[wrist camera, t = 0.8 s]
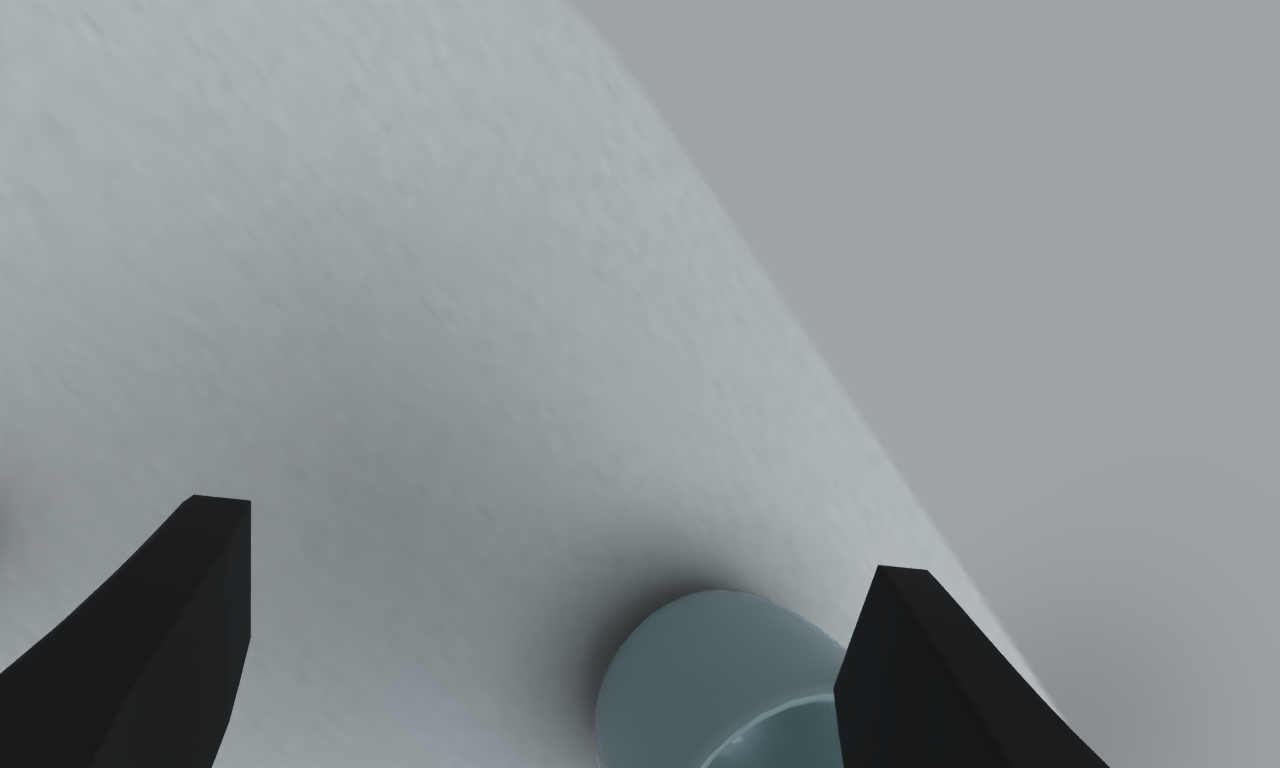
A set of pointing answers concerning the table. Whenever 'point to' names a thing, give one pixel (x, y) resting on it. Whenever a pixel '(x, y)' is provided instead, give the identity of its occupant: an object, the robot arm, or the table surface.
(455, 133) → the table surface
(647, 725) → the cup
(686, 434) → the table surface
